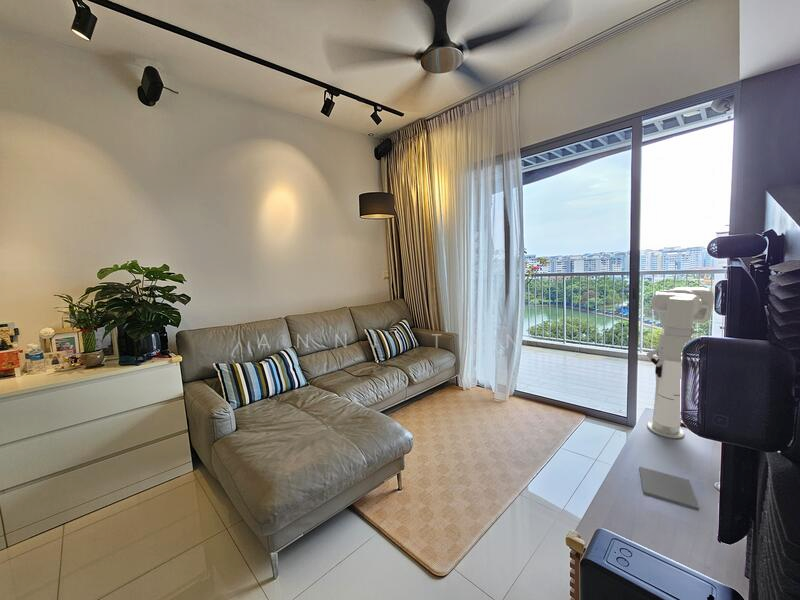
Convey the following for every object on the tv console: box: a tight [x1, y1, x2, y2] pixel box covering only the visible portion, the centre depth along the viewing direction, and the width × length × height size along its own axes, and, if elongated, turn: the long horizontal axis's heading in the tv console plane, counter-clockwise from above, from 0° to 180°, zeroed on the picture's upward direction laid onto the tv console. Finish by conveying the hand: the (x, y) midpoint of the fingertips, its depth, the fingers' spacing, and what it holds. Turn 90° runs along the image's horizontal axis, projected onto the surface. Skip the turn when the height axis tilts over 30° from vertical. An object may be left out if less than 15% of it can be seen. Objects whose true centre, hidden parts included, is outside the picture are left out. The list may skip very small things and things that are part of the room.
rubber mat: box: [638, 466, 700, 510], centre depth 112 cm, size 14×14×1 cm
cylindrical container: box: [655, 360, 681, 427], centre depth 121 cm, size 7×7×25 cm
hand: (672, 377), depth 120 cm, fingers closed on cylindrical container, 7 cm apart
